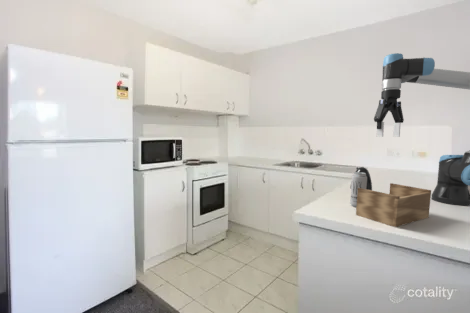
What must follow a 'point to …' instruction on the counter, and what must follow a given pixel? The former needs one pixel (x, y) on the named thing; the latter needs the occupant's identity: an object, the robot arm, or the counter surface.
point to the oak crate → (394, 205)
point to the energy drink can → (357, 186)
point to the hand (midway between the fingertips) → (388, 136)
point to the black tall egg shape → (369, 183)
